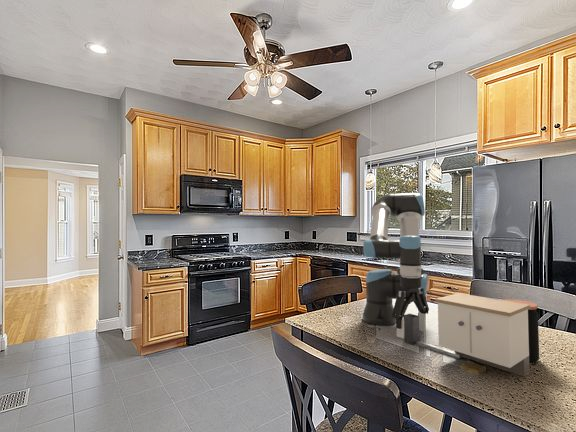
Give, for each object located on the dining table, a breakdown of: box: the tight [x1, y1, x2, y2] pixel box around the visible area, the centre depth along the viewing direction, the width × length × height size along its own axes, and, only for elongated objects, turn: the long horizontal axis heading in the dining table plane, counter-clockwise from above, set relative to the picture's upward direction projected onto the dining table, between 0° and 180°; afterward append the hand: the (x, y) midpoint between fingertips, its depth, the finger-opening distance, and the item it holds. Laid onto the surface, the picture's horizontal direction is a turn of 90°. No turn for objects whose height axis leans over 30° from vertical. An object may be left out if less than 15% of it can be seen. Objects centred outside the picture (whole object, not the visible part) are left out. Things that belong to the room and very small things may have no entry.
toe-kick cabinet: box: [435, 292, 530, 377], centre depth 98 cm, size 21×16×20 cm
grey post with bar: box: [403, 313, 463, 360], centre depth 113 cm, size 20×4×10 cm, turn 36°
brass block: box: [459, 360, 487, 376], centre depth 97 cm, size 5×5×2 cm
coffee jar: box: [503, 298, 540, 365], centre depth 105 cm, size 11×11×18 cm
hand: (411, 333), depth 119 cm, fingers open, 13 cm apart
